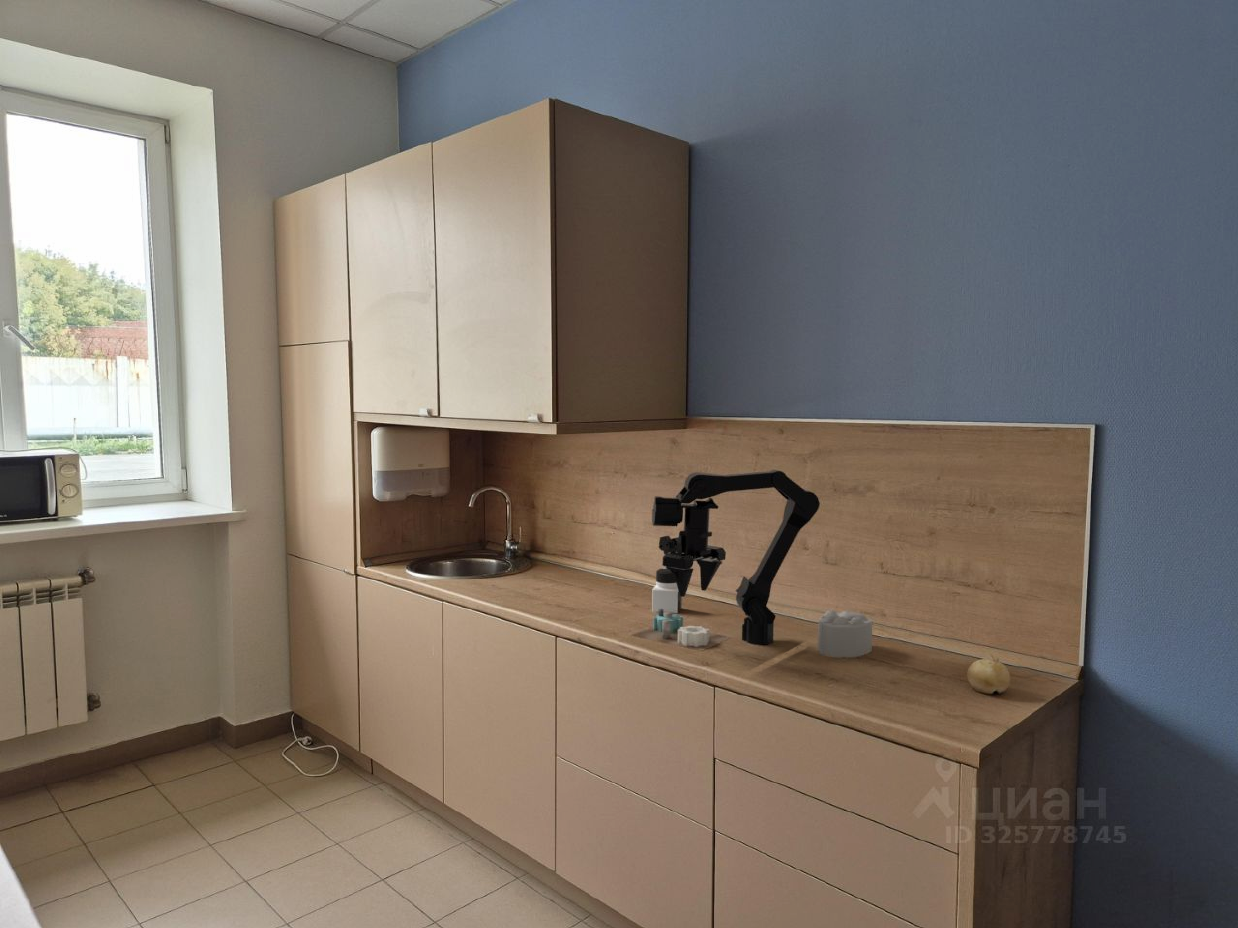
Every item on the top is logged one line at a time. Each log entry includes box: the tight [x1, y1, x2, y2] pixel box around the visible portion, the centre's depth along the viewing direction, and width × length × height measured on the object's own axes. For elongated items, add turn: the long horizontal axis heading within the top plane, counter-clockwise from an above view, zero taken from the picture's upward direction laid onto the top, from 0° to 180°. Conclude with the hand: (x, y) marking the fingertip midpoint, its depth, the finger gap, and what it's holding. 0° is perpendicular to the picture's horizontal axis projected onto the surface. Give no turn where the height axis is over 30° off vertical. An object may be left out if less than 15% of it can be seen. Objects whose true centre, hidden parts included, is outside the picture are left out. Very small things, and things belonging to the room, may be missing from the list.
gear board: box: [630, 612, 732, 652], centre depth 204 cm, size 20×14×5 cm
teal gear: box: [652, 609, 684, 633], centre depth 211 cm, size 7×7×5 cm
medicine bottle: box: [651, 567, 683, 614], centre depth 231 cm, size 7×7×12 cm
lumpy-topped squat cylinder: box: [817, 610, 873, 658], centre depth 198 cm, size 10×13×9 cm
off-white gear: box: [678, 625, 710, 647], centre depth 199 cm, size 7×7×3 cm
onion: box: [966, 653, 1011, 695], centre depth 171 cm, size 8×8×7 cm
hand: (693, 593), depth 199 cm, fingers open, 9 cm apart
